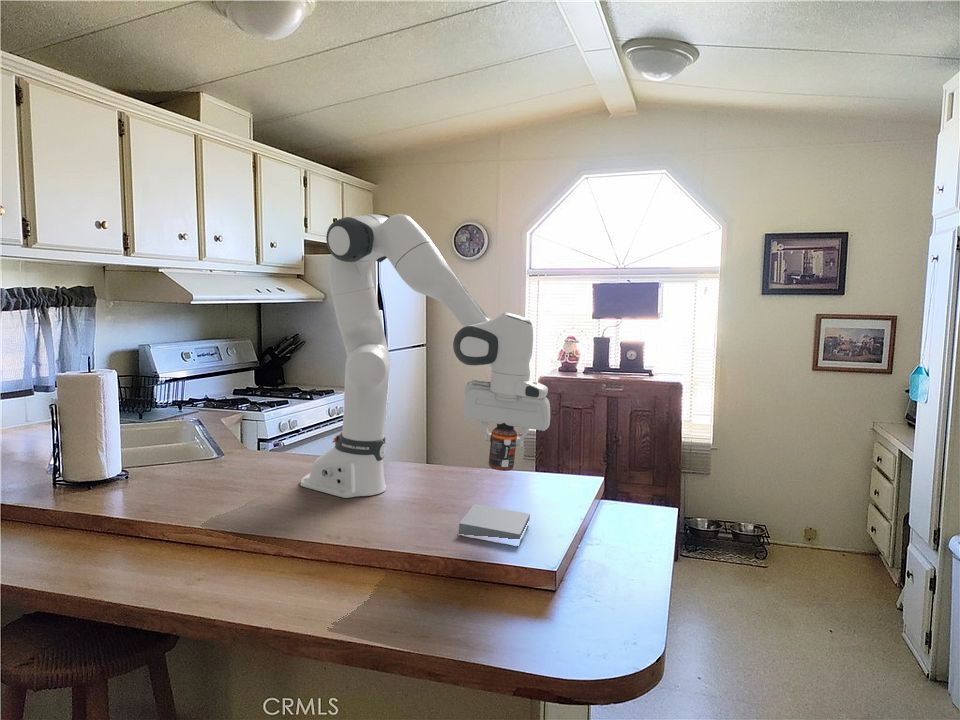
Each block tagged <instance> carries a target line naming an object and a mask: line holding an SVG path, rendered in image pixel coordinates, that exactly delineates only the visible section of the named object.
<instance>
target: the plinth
mask: <svg viewBox="0 0 960 720" xmlns="http://www.w3.org/2000/svg"><path fill="white" fill-rule="evenodd" d="M530 515H531V513H529V512H527V513H526V512H521V511H515V510H511V509H505V508H499V507H493V506H488V505H483V504H477V503H474V504H473V505H472V506H471V508H470V509H469V510H468V512H467V513H466V514H465V515H464V517H463V518H462V519H461V520H460V522H459V524H458V525H459V526H458V534H464V535H474V536H488V537H499V538H508V539H520V537H521V535H522V533H523V531H524V529H525V527H526V525H527V523H528V521H529V522H530V518H531V516H530ZM458 534H457V535H458Z"/></svg>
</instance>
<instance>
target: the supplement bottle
mask: <svg viewBox="0 0 960 720" xmlns="http://www.w3.org/2000/svg"><path fill="white" fill-rule="evenodd" d="M491 433H492V436H491V442H490V447H489V456H488V466H489V468H491V469H493V470H496V471H499V472H509V471H511V470H513V469H514V468H515V467H514V466H515V459H516V458H515V456H516V450H517V449H516V448H517V446H515V443H516V438H517V437H518V432H517V431H516V430H515V426H508V425H506V423H502V424H496V427H494V428H493V429H492V430H491Z"/></svg>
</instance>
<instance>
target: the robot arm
mask: <svg viewBox="0 0 960 720" xmlns="http://www.w3.org/2000/svg"><path fill="white" fill-rule="evenodd" d="M326 246H327V248H328V250H329V252H330V256H329V258H328V263H327V265H328V266H327V270H328V271H327V272H328V282H329V288H330V294H331V297H332V298H331V299H332V302H333V308H334V312H335V318H336V321H337V326H338V328H339V331H340V335H341V339H342V341H343V345H344V349H345V353H346V357H347V358H346V361H345V367H344V391H343V394H344V395H343V396H344V397H343V416H342V420H343V421H342V429H341V431H342V432H340V433H339V434H337V435H336V436H335V437H334V438H332V443H333V444H335V445H334V447H332V448H331V449H329V450H328V451H326V452H325V453H323V454H322V455H320V456H318V457H317V458H316V459H315V460H314V461H313V463H312V465H311V468H310V472H309V473H308V474H307V475H304V476H303V477H302V478H301V480H300V486H301V487H303V488H307V489H311V490H314V491H318V492H322V493H325V494H329V495H332V496H336V497H340V498H345V499H349V498H354V497H355V498H356V497H368V496H369V497H370V496H375V495H379V494H381V493H383V492H385V491H386V490H387V484H386V481H385V472H384V458H385V453H386V436H385V433H386V432H385V430H386V416H387V404H388V394H389V393H388V391H389V380H390V366H391V358H390V357H391V356H390V352H389V349H388V344H387V340H386V339H387V338H386V335H385V330H384V326H383V322H382V317H381V314H380V307H379V303H378V299H377V298H378V297H377V294H376V289H375V284H374V279H373V275H372V274H373V273H372V266H374V263H375V262H378V263H382V262H384V261H385V260H388V261H389V262H390V263H391V265H392V267H393V268H394V269H395V271H396V273H397V274H398V276H399V277H400V278H401V279H402V280H403V282H404V283H405V284H406V285H408V287H409V288H411V289H412V290H413V291H414V292H417V293H418V294H421V295H424V296H426V297H430V298H432V299H434V300H436V301H438V302H440V303H441V304H442V305H444V306H445V307H446V308H447V309H448V310H449V311H450V312H451V314H452V315H453V316H454V318H456V320H457V321H458V322H459V324H460V325H461V327H462V328H460V329H459V330H458V331H457V332H456V333H455V335H454V339H453V342H452V346H453V347H452V349H453V352H454V355H455V356H456V358H457V359H458V361H459V362H461V363H462V364H464V365H466V366H470V367H480V366H484V365H487V366H491V373H490V381H484V380H483V381H482V380H480V381H479V380H476V379H472V380H470V381H468V382H467V383H466V384H465V386H464V396H465V400H464V403H463V409H462V416H463V418H464V420H468V421H475V422H480V428H481V430H482V431H483V434H484V438H483V439H484V442H490V443H491V436H492V432H490V431H489V428H488V426H489V424H495V425H497V424H502V423H506V425H508V426H514V428H515V427H516V428H521V433H522V435H521V436H517V438H516V443H515V446H516V447H521V448H522V447H523V444H524V439H525V438H526V436H527V435H528V433H529V431H530V429H531V430H537V431H543V432H545V431H546V430H547V429H549V427H550V425H551V404H550V400H549V399H548V398H547V396H548V393H549V387H548V386H546V385H544V384H543V383H540V382H538V381H535V380H534V379H531V378H530V376H531V371H530V362H531V359H532V356H533V349H534V348H533V347H534V327H533V324H532V322H531V321H530V319H528V318H527V317H524V316H522V315H519V314H516V313H512V312H501V313H500V314H499V315H497V316H495V317H492V318H490V317H489V316H488V315H487V314H486V313H485V312H484V310H483V309H482V308H481V306H480V305H479V304H478V303H477V302H476V301H475V299H474V298H473V297H472V295H471V294H470V292H469V291H468V290H467V289H466V288H465V287H464V285H462V282H460V280H459V279H458V278H457V276H456V275H455V273H454V271H453V270H452V269H451V267H450V265H449V264H448V263H447V261H446V259H445V258H444V257H443V255H442V253H441V252H440V250H439V249H438V247H437V246H436V245H435V243H434V242H433V240H432V239H431V238H430V236H429V235H428V234H427V233H426V231H425V230H424V229H423V228H422V227H421V226H420V225H419V224H418V223H417V222H416V221H415V220H414V219H412V218H411V216H409V215H407V214H404V213H397V214H394V215H389V214H385V213H383V214H374V213H372V214H370V213H369V214H368V213H367V214H362V215H361V214H360V215H356V216H355V215H354V216H351V217H350V216H345V217H342V218H338V219H337V220H335V221H333V222H332V223H331V224H330V225H329V227H328V228H327V232H326Z"/></svg>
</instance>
